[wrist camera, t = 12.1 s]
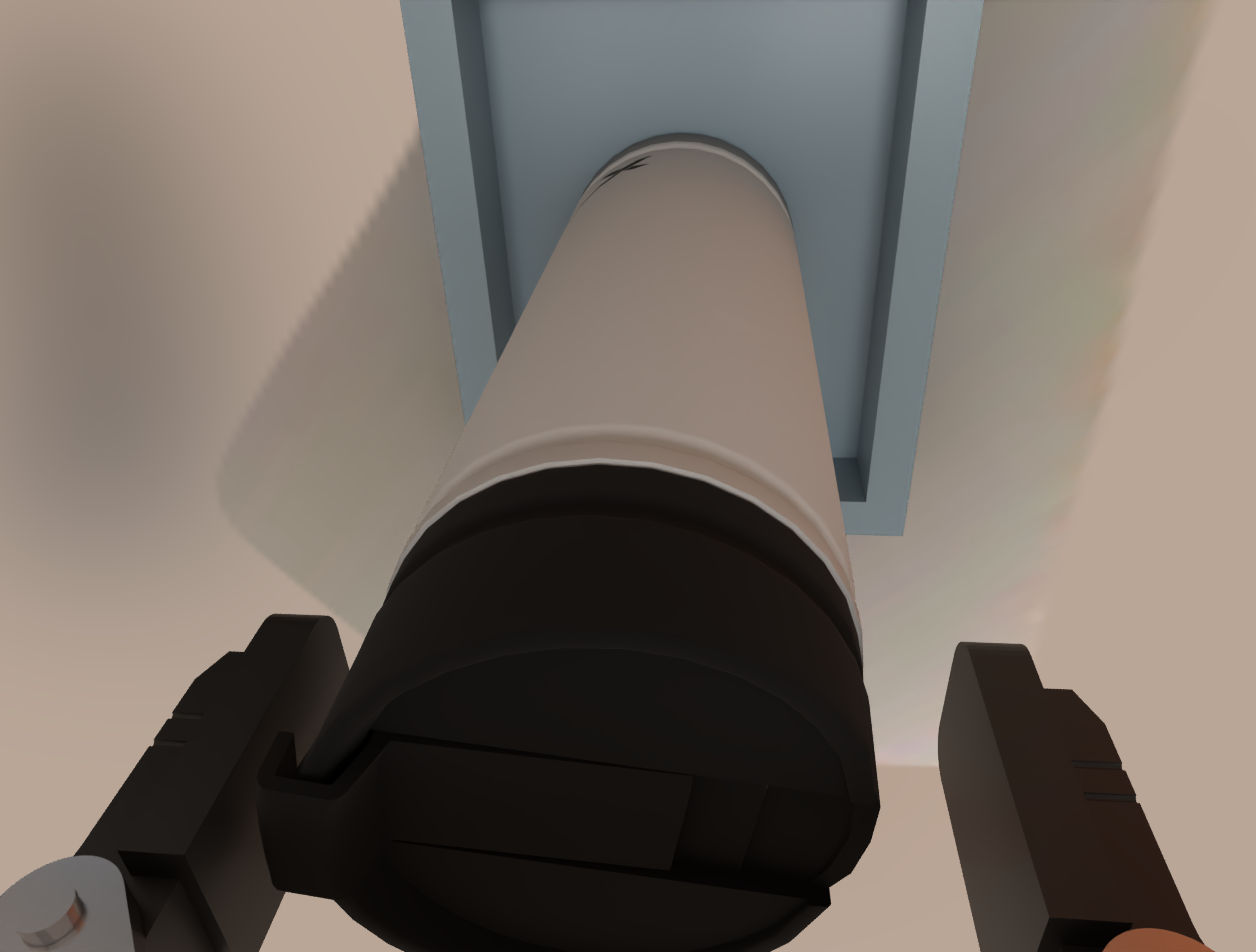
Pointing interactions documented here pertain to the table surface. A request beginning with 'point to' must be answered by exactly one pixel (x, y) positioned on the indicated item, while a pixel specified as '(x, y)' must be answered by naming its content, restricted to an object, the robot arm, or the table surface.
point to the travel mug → (612, 616)
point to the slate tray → (740, 115)
